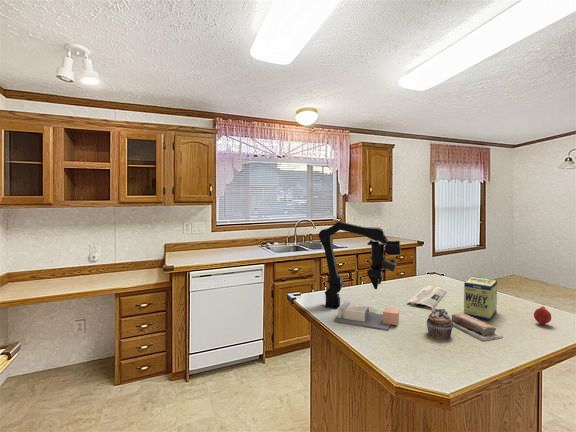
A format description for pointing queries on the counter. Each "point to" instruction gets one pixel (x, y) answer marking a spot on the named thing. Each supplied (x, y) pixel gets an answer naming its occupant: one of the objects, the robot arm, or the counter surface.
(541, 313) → the onion
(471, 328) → the packaged product
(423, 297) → the newspaper
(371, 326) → the grey flat tray
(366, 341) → the counter surface
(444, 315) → the cupcake
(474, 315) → the protein box
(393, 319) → the stub
